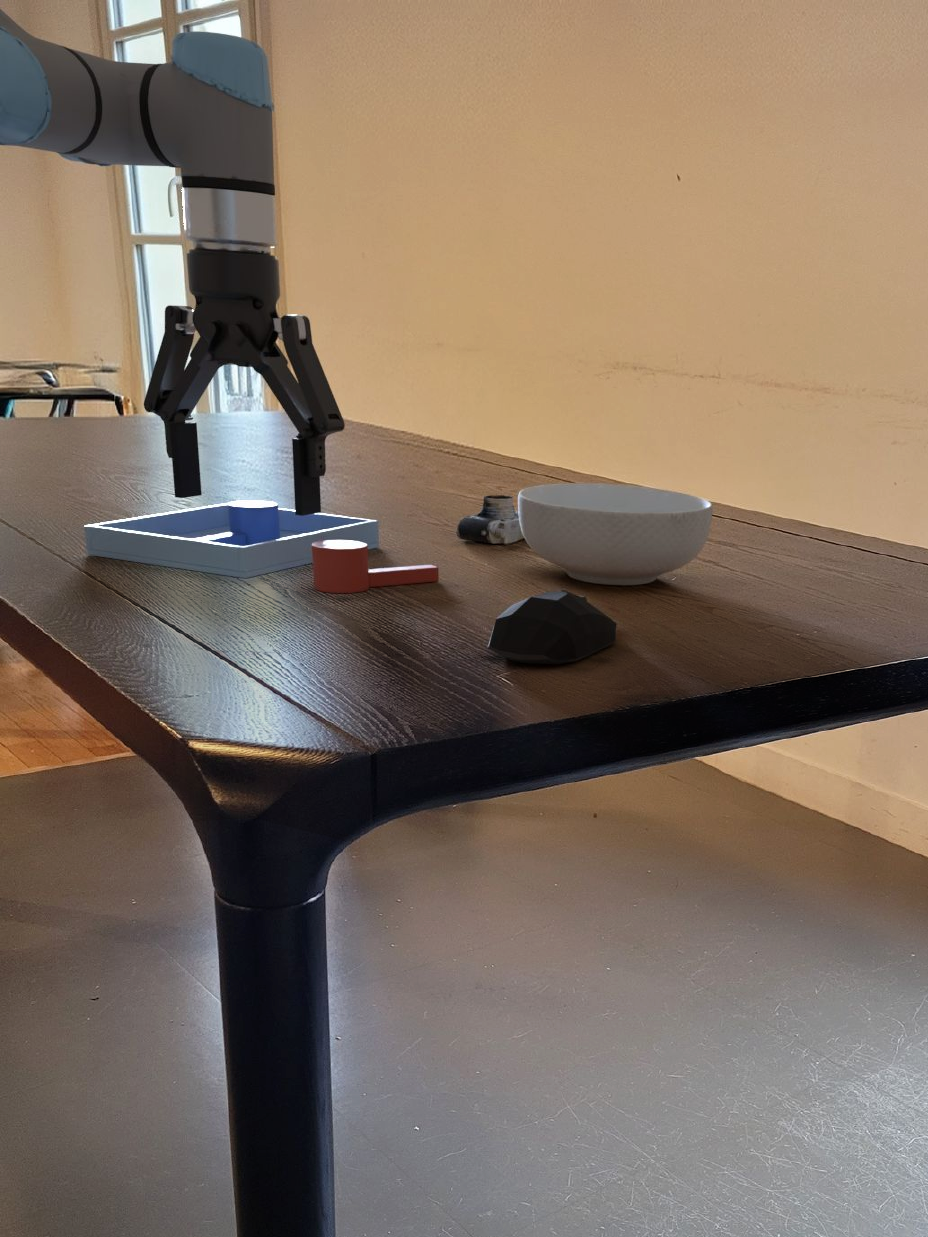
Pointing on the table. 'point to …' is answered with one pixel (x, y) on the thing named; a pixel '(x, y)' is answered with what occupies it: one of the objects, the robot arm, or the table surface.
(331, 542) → the red scoop
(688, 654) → the table surface
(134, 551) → the blue tray
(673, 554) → the cereal bowl
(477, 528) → the camera
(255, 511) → the blue scoop
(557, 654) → the black faceted rock
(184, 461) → the robot arm
